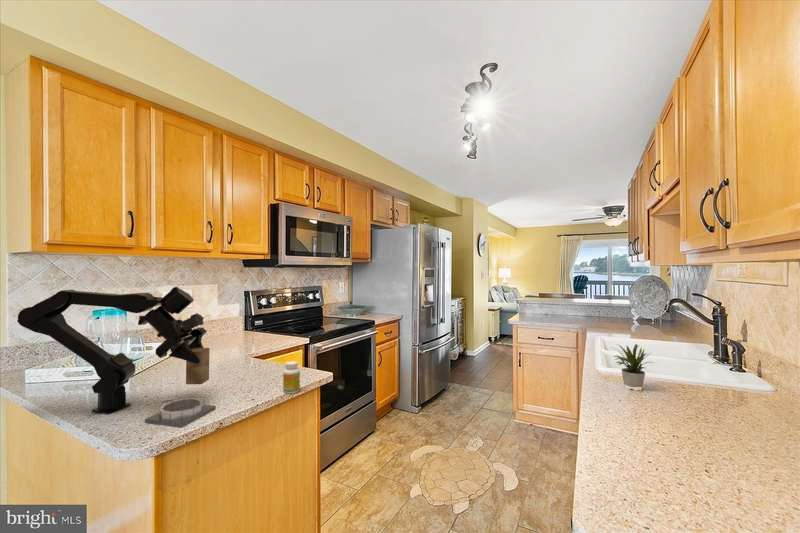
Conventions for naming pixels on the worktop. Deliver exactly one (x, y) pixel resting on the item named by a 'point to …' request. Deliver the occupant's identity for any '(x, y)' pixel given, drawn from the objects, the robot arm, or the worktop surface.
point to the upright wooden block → (198, 367)
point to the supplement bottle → (291, 378)
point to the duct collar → (180, 412)
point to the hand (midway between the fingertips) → (202, 360)
